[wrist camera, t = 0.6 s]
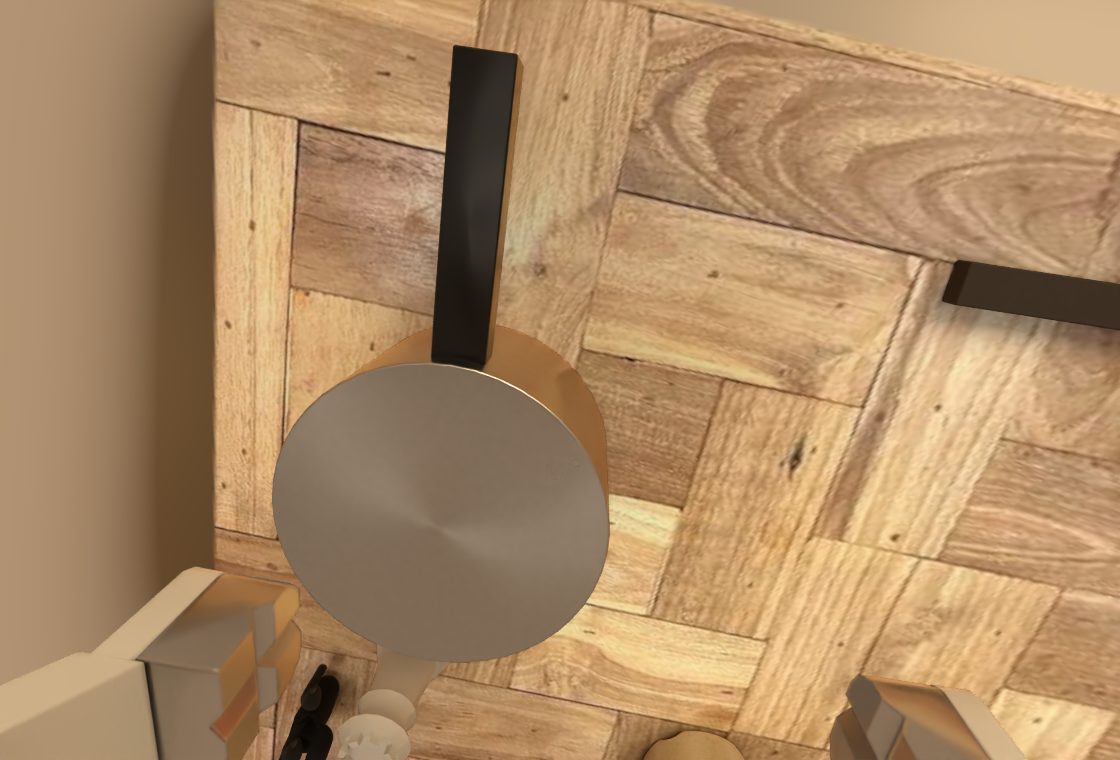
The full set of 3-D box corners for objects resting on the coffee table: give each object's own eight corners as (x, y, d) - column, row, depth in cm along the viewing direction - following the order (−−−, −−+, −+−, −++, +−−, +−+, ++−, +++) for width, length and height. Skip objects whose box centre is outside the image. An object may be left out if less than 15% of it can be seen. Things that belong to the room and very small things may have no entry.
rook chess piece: (451, 589, 30) (401, 719, 22) (469, 653, 31) (428, 798, 24) (375, 597, 30) (301, 727, 23) (396, 660, 32) (332, 803, 24)
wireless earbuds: (330, 642, 32) (282, 720, 27) (370, 657, 32) (330, 736, 27) (302, 724, 34) (254, 809, 29) (340, 737, 34) (298, 825, 29)
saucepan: (360, 68, 22) (258, 8, 16) (672, 114, 22) (704, 73, 15) (347, 538, 29) (274, 635, 23) (584, 577, 29) (580, 687, 22)
